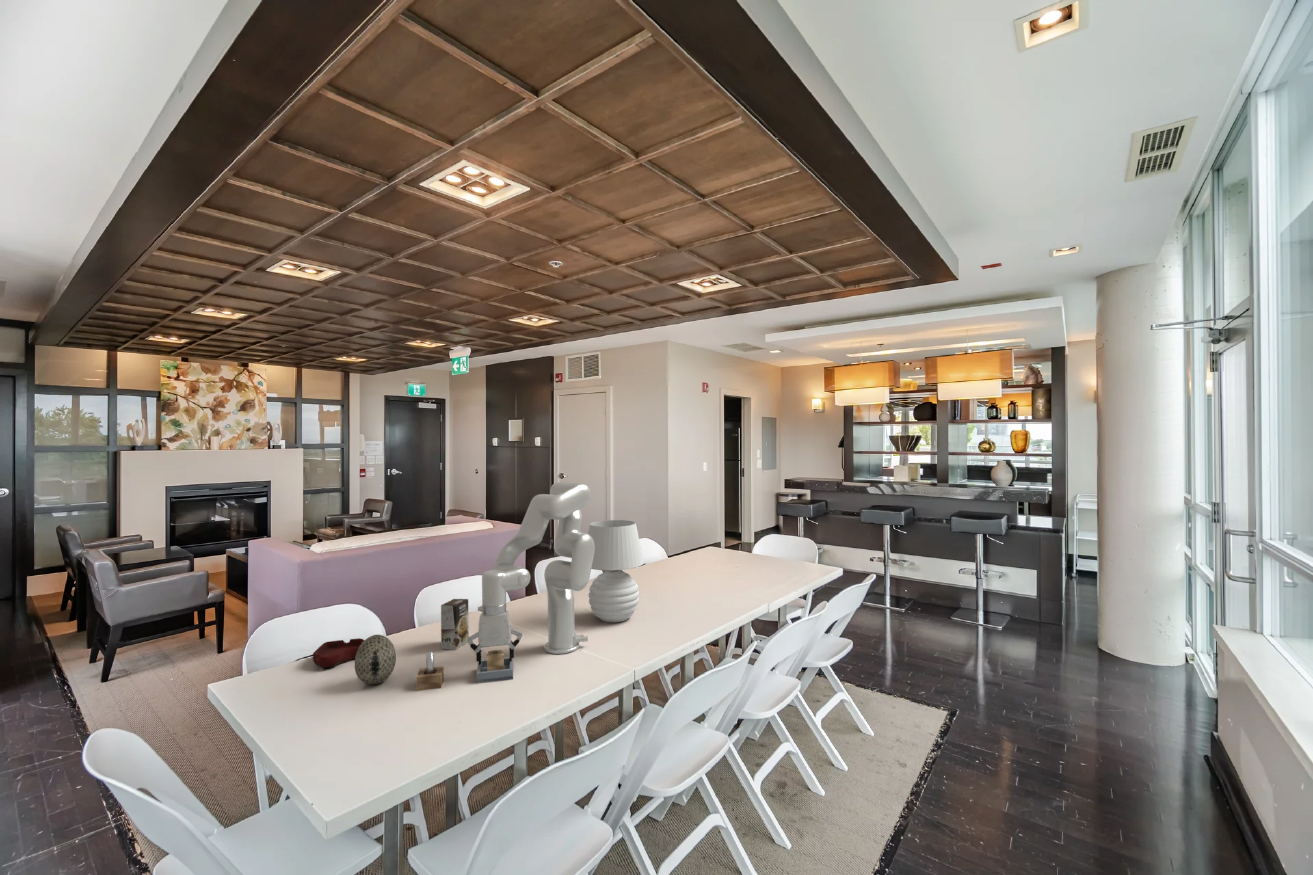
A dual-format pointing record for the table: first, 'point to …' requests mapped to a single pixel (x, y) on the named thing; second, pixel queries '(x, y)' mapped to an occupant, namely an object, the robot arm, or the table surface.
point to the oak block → (495, 660)
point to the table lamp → (614, 569)
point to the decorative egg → (375, 659)
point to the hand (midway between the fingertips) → (495, 661)
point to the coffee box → (454, 624)
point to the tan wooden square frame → (430, 679)
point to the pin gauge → (430, 662)
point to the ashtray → (336, 652)
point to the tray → (494, 672)
